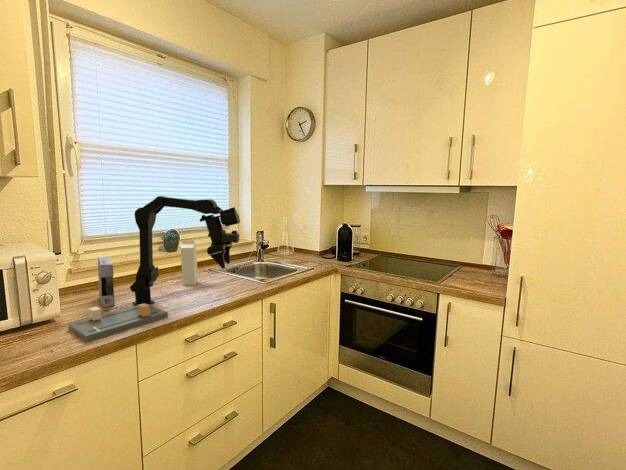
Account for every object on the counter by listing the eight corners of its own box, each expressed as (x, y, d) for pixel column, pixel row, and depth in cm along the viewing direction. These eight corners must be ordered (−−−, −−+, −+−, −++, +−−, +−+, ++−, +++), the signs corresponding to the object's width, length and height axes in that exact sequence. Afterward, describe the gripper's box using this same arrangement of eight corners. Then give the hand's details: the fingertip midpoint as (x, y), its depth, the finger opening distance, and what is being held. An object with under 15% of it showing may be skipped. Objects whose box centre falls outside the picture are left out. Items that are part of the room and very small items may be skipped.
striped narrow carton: (116, 306, 134) (113, 263, 132) (101, 309, 131) (98, 265, 129) (112, 294, 149) (109, 256, 147) (99, 296, 146) (95, 257, 144)
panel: (68, 329, 111) (68, 323, 111) (146, 308, 131) (146, 303, 131) (86, 342, 101) (85, 335, 101) (167, 317, 122) (167, 311, 121)
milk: (194, 285, 165) (192, 241, 162) (182, 285, 164) (180, 241, 161) (197, 281, 171) (196, 239, 168) (185, 282, 170) (183, 239, 167)
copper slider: (138, 314, 118) (137, 304, 118) (144, 312, 120) (144, 303, 119) (143, 316, 116) (142, 307, 115) (150, 314, 117) (149, 305, 117)
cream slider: (89, 318, 115) (88, 308, 114) (96, 316, 117) (96, 306, 116) (93, 320, 112) (92, 310, 112) (101, 318, 114) (100, 308, 114)
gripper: (229, 226, 125) (241, 265, 127) (238, 222, 144) (248, 256, 146) (201, 234, 125) (213, 273, 127) (213, 229, 144) (224, 263, 146)
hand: (226, 265), depth 137 cm, fingers open, 9 cm apart
